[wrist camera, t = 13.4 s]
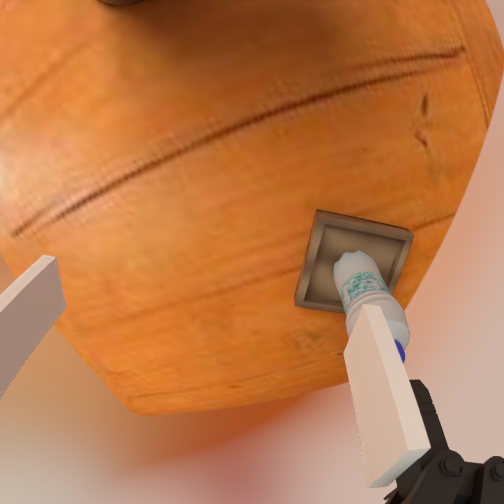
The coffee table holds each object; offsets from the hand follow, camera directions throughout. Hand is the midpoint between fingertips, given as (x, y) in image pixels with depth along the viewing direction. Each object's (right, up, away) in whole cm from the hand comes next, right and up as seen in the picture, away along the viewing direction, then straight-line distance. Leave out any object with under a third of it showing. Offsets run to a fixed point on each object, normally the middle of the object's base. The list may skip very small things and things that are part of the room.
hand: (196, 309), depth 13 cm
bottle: (+16, 0, +32) cm, 36 cm away
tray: (+17, +1, +32) cm, 36 cm away
